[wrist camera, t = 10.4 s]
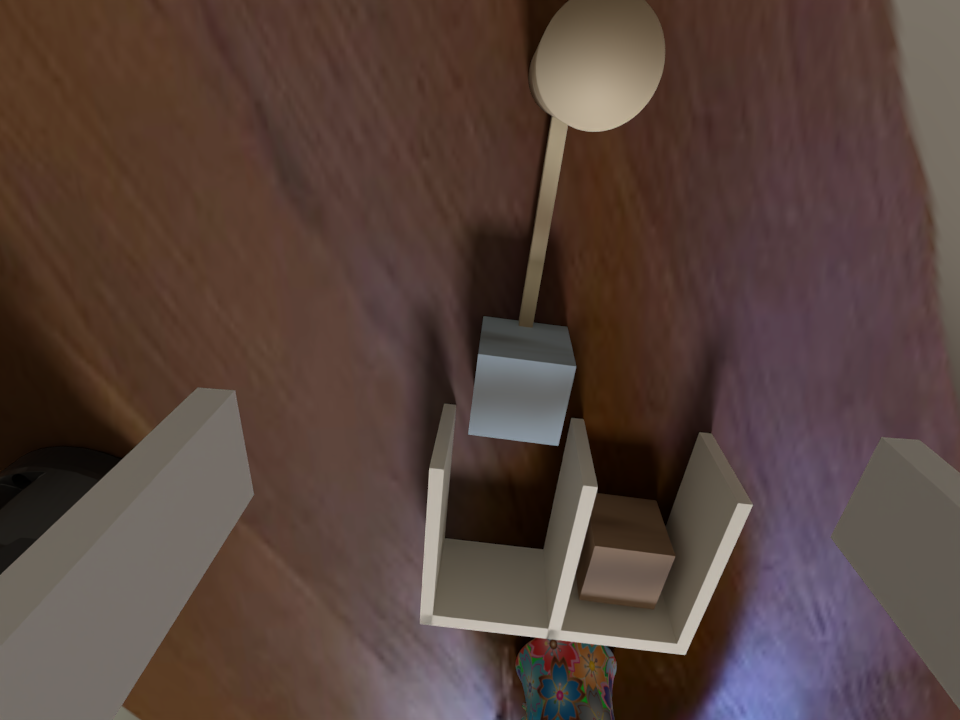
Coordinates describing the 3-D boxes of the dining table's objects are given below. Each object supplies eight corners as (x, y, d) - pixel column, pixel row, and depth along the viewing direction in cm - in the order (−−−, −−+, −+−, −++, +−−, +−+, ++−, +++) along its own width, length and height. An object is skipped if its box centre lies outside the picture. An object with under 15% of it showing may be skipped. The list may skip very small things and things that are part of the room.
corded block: (552, 398, 33) (568, 527, 23) (474, 388, 33) (457, 513, 23) (627, 37, 24) (707, -3, 14) (519, 24, 24) (522, -26, 14)
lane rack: (660, 572, 39) (685, 655, 33) (433, 546, 39) (419, 623, 34) (711, 433, 33) (752, 504, 27) (444, 403, 33) (429, 468, 28)
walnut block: (638, 550, 38) (654, 609, 34) (571, 541, 38) (578, 599, 34) (656, 499, 36) (675, 556, 32) (585, 490, 36) (594, 545, 32)
